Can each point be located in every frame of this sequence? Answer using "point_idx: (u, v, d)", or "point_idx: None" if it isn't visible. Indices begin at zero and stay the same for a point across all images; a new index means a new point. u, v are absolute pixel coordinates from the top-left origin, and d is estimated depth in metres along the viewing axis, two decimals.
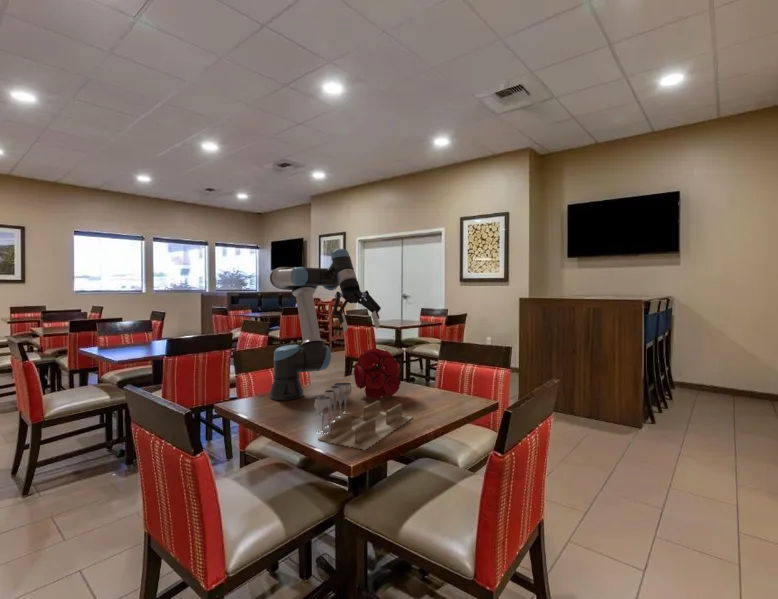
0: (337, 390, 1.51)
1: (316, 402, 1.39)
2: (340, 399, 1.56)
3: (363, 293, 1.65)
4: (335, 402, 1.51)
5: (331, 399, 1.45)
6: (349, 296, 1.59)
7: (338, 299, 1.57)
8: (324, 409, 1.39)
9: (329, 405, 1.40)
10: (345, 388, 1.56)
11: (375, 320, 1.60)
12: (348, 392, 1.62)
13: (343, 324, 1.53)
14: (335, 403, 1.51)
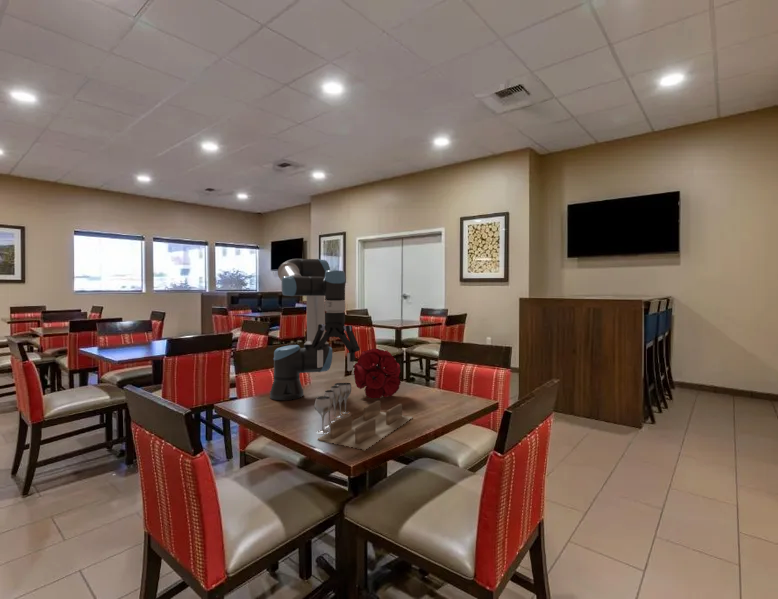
0: (337, 390, 1.51)
1: (316, 402, 1.39)
2: (340, 399, 1.56)
3: (345, 328, 1.49)
4: (335, 402, 1.51)
5: (331, 399, 1.45)
6: (327, 332, 1.51)
7: (317, 334, 1.54)
8: (324, 409, 1.39)
9: (329, 405, 1.40)
10: (345, 388, 1.56)
11: None
12: (348, 392, 1.62)
13: None
14: (335, 403, 1.52)
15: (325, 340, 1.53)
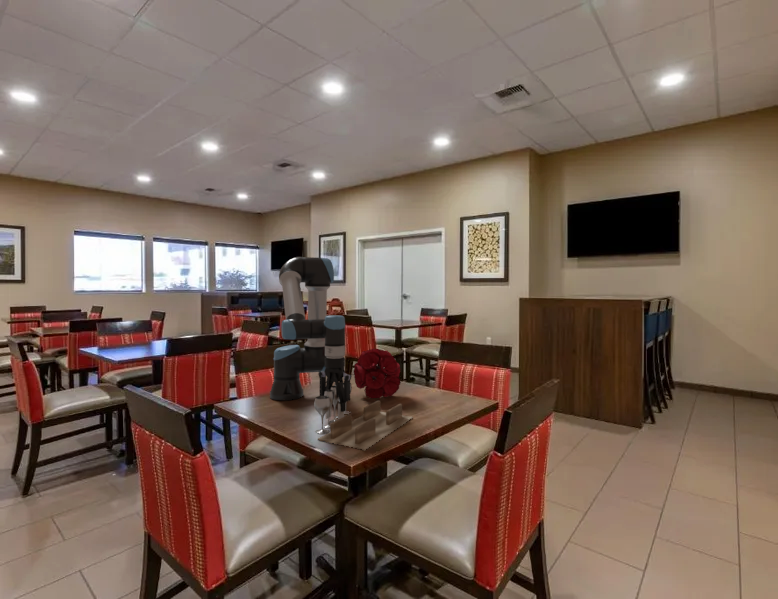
0: (337, 390, 1.51)
1: (316, 402, 1.40)
2: None
3: (344, 375, 1.49)
4: (335, 402, 1.51)
5: (331, 399, 1.46)
6: (328, 378, 1.51)
7: (321, 382, 1.53)
8: (323, 409, 1.39)
9: (329, 405, 1.40)
10: None
11: None
12: None
13: None
14: (335, 403, 1.52)
15: (330, 387, 1.53)
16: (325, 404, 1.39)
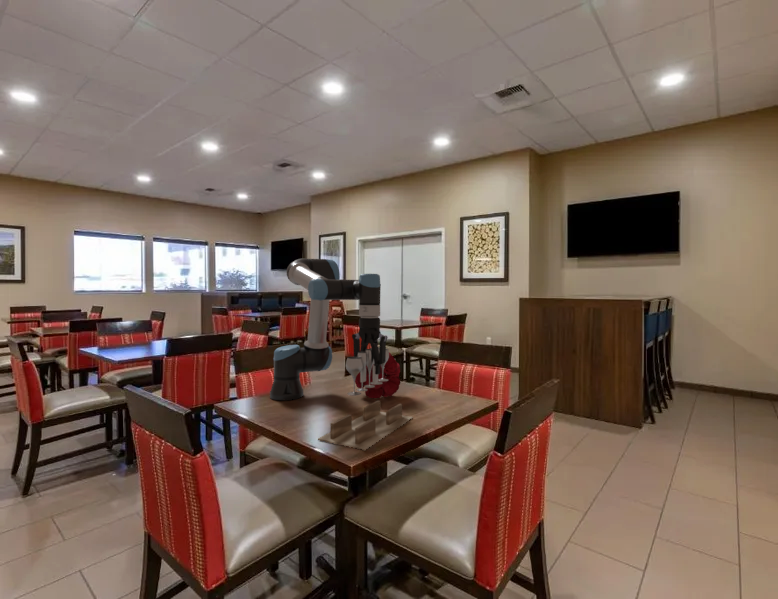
0: (371, 352, 1.44)
1: (347, 361, 1.33)
2: None
3: (380, 336, 1.42)
4: (369, 365, 1.44)
5: (364, 360, 1.38)
6: (363, 339, 1.44)
7: (355, 344, 1.46)
8: (355, 369, 1.32)
9: (360, 365, 1.33)
10: None
11: None
12: None
13: None
14: (369, 366, 1.44)
15: (364, 349, 1.45)
16: (356, 364, 1.32)
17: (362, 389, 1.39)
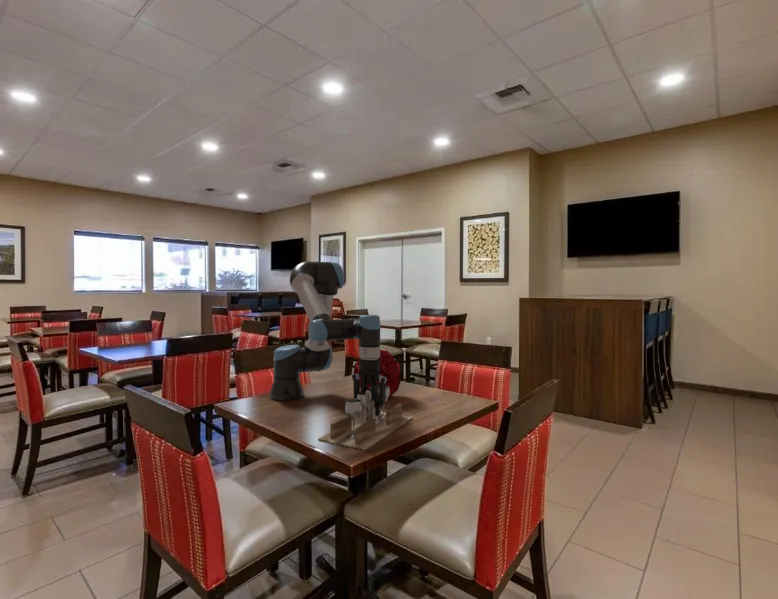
0: (371, 393, 1.44)
1: (346, 405, 1.34)
2: None
3: (380, 378, 1.42)
4: (369, 405, 1.44)
5: (364, 402, 1.39)
6: (363, 381, 1.44)
7: (355, 385, 1.46)
8: (354, 412, 1.32)
9: (360, 408, 1.33)
10: None
11: None
12: (386, 395, 1.54)
13: None
14: (369, 406, 1.45)
15: (364, 390, 1.46)
16: (356, 408, 1.32)
17: None
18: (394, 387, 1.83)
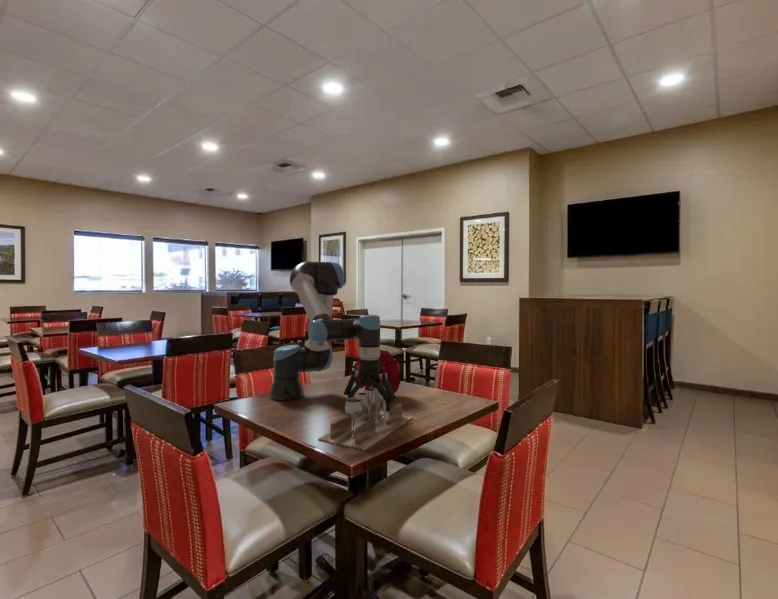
0: (371, 393, 1.44)
1: (346, 405, 1.34)
2: (376, 402, 1.49)
3: (381, 376, 1.42)
4: (369, 405, 1.45)
5: (363, 402, 1.39)
6: (361, 380, 1.44)
7: (351, 380, 1.47)
8: (354, 412, 1.33)
9: (359, 408, 1.33)
10: None
11: None
12: None
13: None
14: (370, 406, 1.45)
15: (359, 387, 1.47)
16: (355, 408, 1.33)
17: None
18: (394, 387, 1.83)
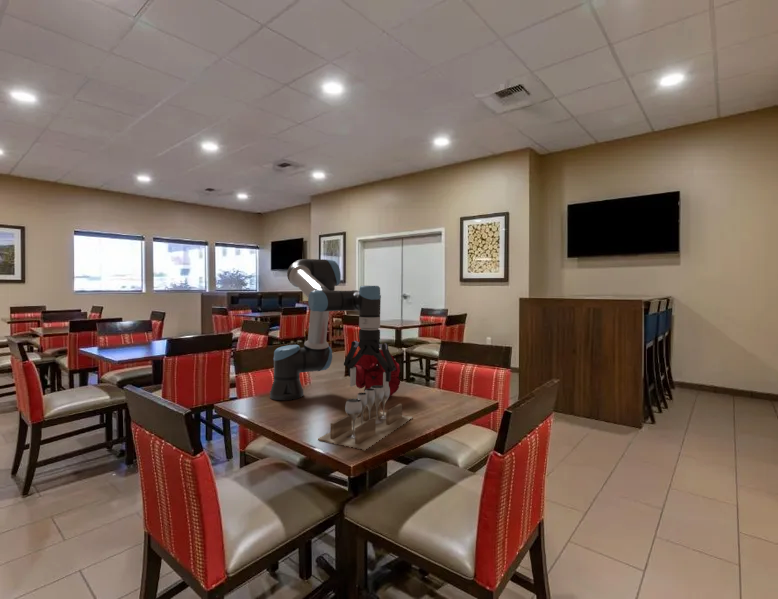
0: (372, 393, 1.44)
1: (346, 405, 1.34)
2: (376, 402, 1.49)
3: (381, 346, 1.42)
4: (370, 405, 1.45)
5: (364, 402, 1.39)
6: (361, 350, 1.44)
7: (351, 351, 1.47)
8: (354, 412, 1.33)
9: (359, 408, 1.33)
10: (381, 391, 1.49)
11: None
12: (386, 395, 1.54)
13: None
14: (370, 406, 1.45)
15: (359, 358, 1.47)
16: (356, 408, 1.33)
17: None
18: (394, 387, 1.83)
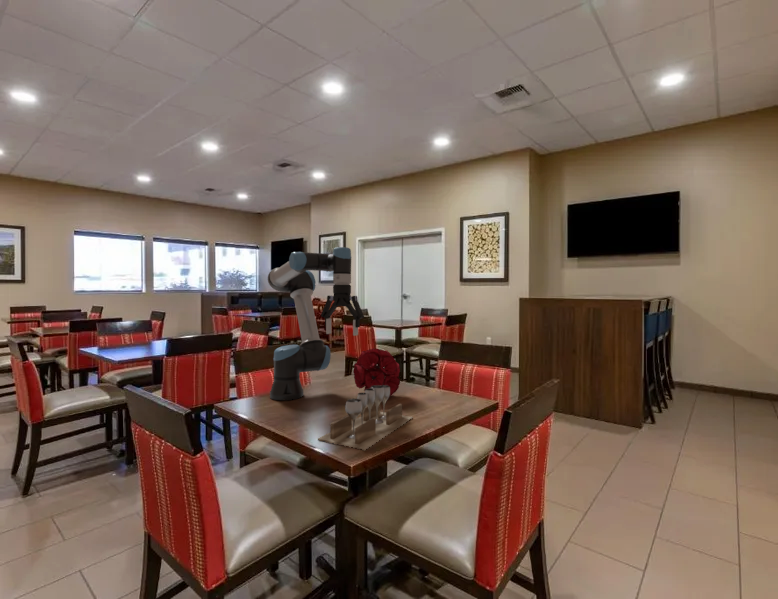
0: (372, 393, 1.44)
1: (346, 404, 1.34)
2: (376, 402, 1.49)
3: (351, 298, 1.69)
4: (370, 405, 1.45)
5: (364, 402, 1.39)
6: (335, 302, 1.71)
7: (326, 304, 1.73)
8: (354, 412, 1.33)
9: (360, 408, 1.34)
10: (382, 391, 1.49)
11: None
12: (386, 395, 1.54)
13: None
14: (370, 406, 1.45)
15: (333, 309, 1.73)
16: (356, 408, 1.33)
17: None
18: (394, 387, 1.83)
